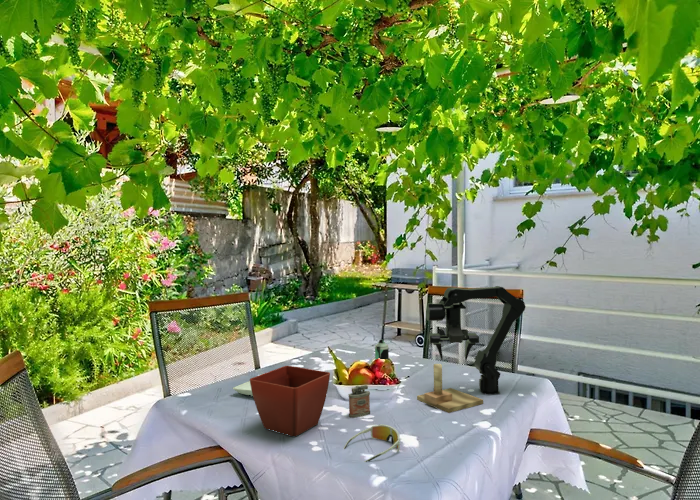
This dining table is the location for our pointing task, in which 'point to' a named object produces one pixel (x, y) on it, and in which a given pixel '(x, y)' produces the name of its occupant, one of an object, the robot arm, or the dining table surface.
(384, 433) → the sunglasses
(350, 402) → the lighter
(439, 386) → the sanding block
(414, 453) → the dining table surface
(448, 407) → the board
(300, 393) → the plant pot
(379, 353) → the spray can
